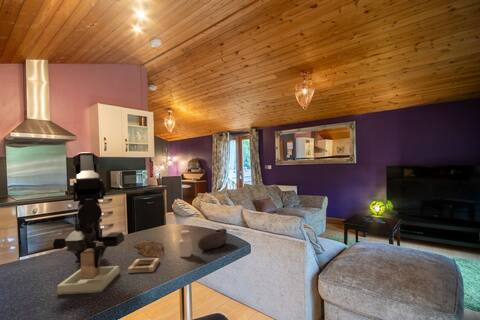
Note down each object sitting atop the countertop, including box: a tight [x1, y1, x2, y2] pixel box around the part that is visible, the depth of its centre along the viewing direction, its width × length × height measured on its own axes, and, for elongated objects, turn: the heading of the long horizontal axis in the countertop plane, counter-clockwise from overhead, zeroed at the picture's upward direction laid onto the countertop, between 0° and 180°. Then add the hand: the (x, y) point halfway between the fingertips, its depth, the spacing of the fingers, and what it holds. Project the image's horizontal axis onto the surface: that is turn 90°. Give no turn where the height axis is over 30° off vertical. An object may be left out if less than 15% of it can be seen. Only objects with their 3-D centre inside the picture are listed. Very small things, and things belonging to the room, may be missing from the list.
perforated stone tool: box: [197, 227, 228, 251], centre depth 106 cm, size 15×5×7 cm, turn 131°
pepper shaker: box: [178, 229, 193, 258], centre depth 97 cm, size 4×4×10 cm
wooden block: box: [80, 248, 100, 280], centre depth 77 cm, size 4×4×8 cm
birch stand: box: [127, 257, 160, 274], centre depth 88 cm, size 8×8×2 cm
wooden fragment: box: [132, 240, 165, 259], centre depth 106 cm, size 26×11×1 cm, turn 34°
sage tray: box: [56, 265, 120, 296], centre depth 77 cm, size 12×12×2 cm
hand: (90, 268), depth 77 cm, fingers closed on wooden block, 4 cm apart
